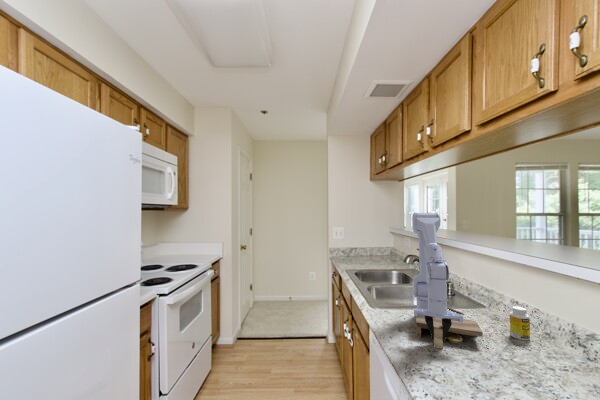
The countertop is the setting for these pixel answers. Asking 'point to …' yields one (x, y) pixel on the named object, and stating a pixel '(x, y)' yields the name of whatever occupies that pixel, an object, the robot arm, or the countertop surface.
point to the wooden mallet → (438, 336)
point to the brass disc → (453, 337)
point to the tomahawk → (455, 311)
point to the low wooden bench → (457, 327)
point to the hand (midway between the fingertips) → (438, 340)
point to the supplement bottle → (519, 323)
